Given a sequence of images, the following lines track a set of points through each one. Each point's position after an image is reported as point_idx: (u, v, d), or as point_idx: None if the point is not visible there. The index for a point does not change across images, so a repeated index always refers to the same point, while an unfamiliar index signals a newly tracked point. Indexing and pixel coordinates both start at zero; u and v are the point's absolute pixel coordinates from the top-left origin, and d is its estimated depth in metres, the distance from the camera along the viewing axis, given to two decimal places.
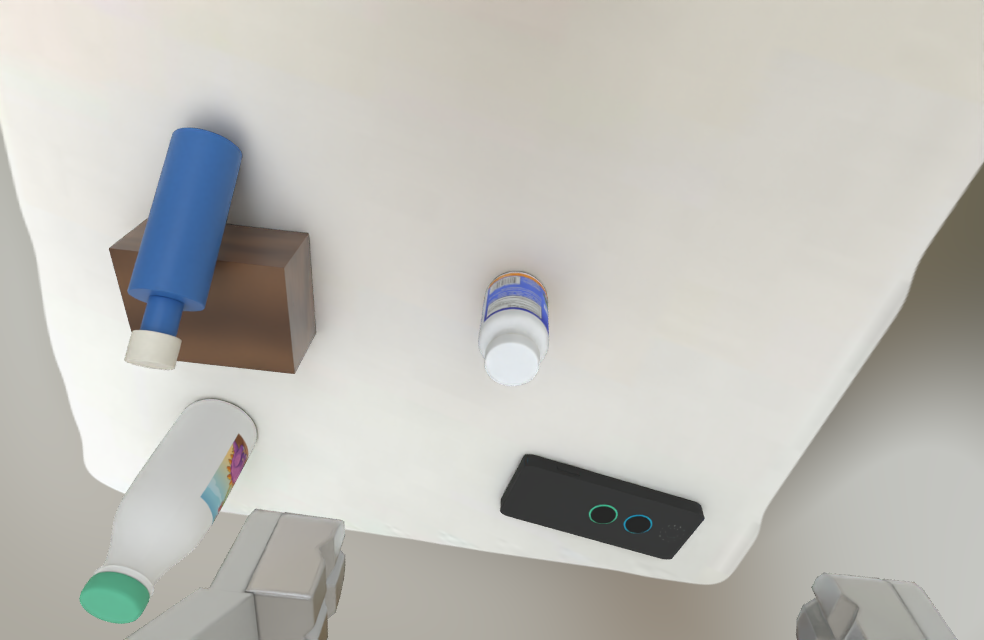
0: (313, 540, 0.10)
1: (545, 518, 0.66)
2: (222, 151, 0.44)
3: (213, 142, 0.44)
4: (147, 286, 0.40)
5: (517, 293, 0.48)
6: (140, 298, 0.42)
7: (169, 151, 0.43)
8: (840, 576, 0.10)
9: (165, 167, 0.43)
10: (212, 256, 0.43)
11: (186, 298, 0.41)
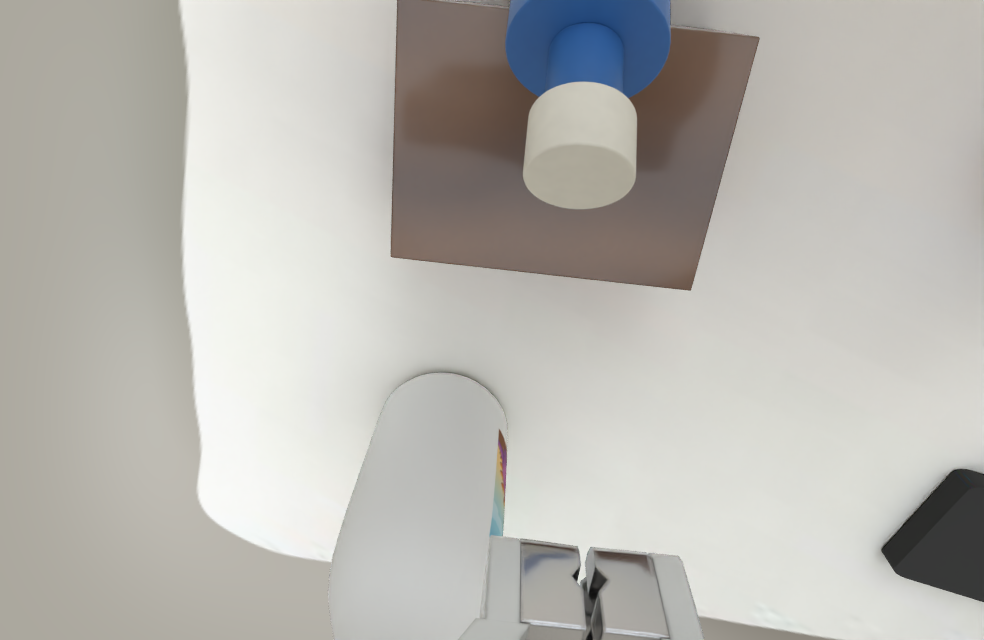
0: (562, 568, 0.10)
1: (967, 581, 0.40)
2: None
3: None
4: None
5: None
6: (521, 49, 0.18)
7: None
8: (603, 550, 0.10)
9: None
10: None
11: (660, 28, 0.17)
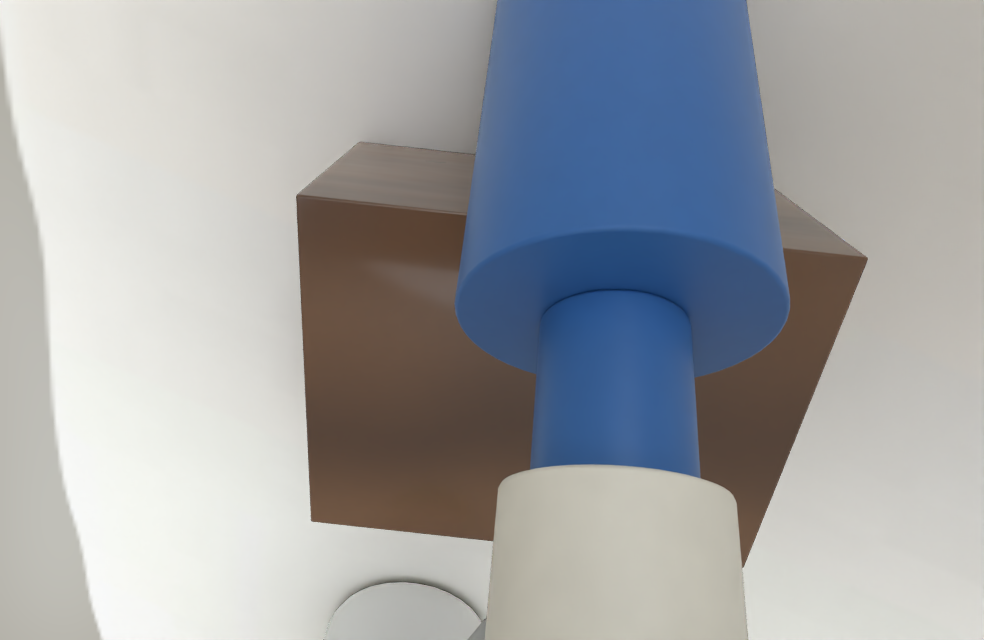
0: None
1: None
2: None
3: None
4: (645, 217, 0.07)
5: None
6: (486, 317, 0.09)
7: None
8: None
9: None
10: None
11: (772, 302, 0.08)
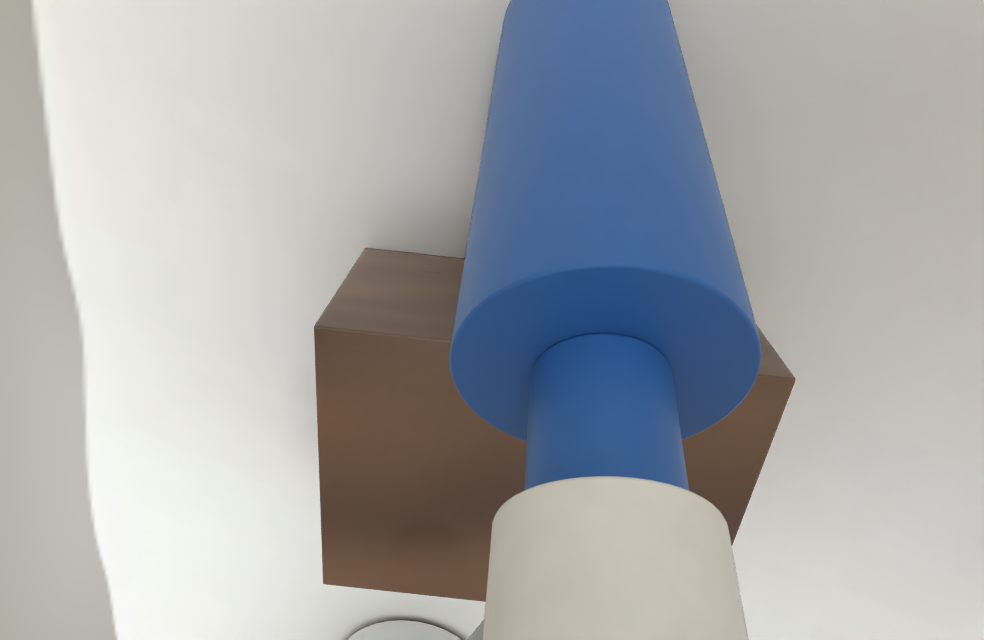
0: None
1: None
2: (669, 10, 0.16)
3: None
4: (624, 256, 0.08)
5: None
6: (479, 370, 0.10)
7: None
8: None
9: (538, 11, 0.14)
10: None
11: (744, 344, 0.09)
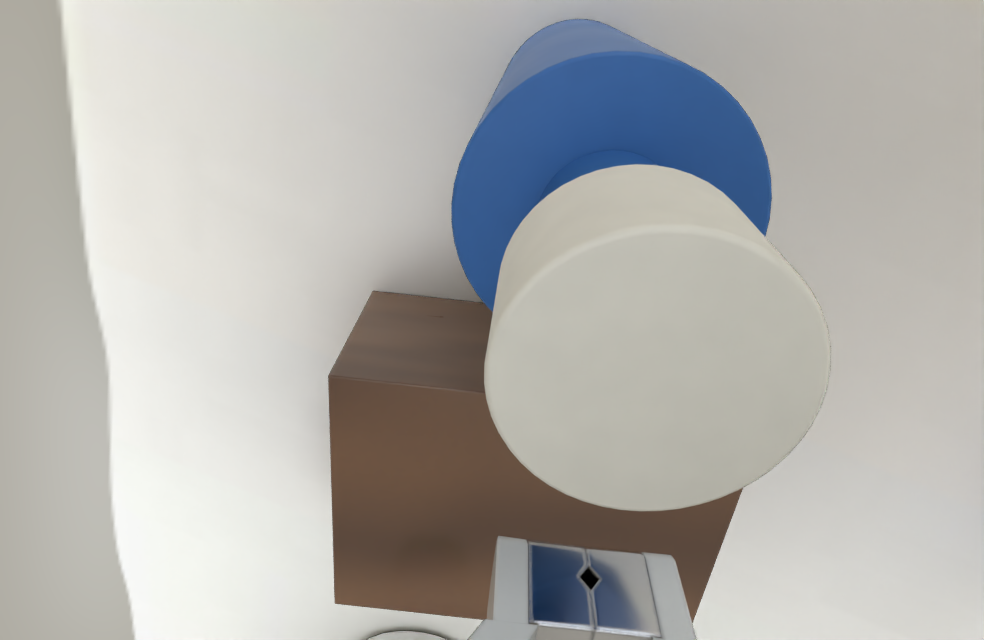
0: (570, 568, 0.10)
1: None
2: None
3: None
4: (625, 49, 0.08)
5: None
6: (482, 219, 0.10)
7: (532, 38, 0.18)
8: (596, 549, 0.10)
9: (534, 39, 0.17)
10: None
11: (752, 160, 0.09)
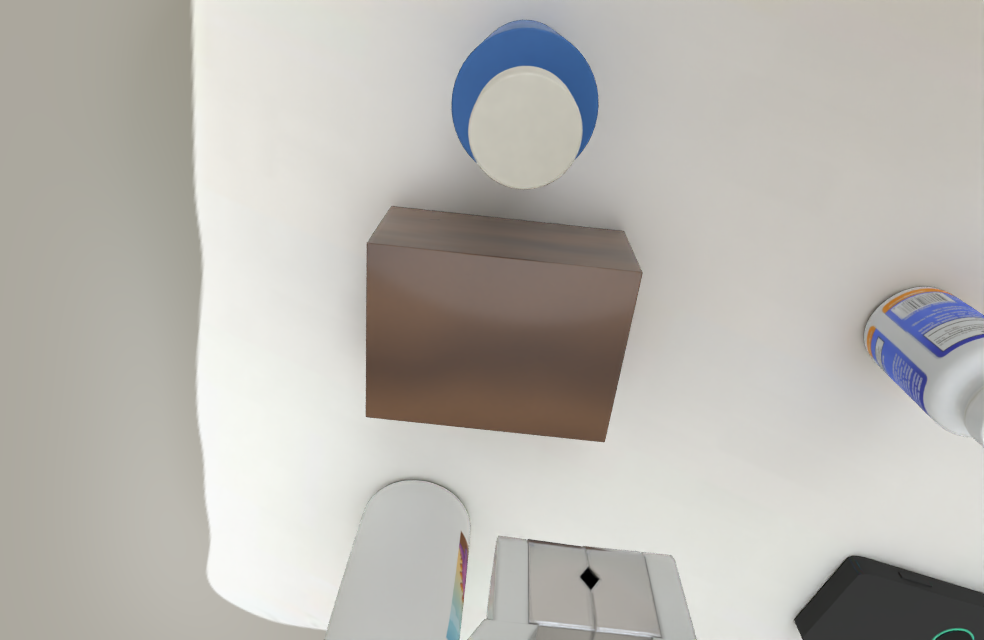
0: (570, 569, 0.10)
1: None
2: None
3: None
4: (527, 27, 0.19)
5: (972, 314, 0.31)
6: (466, 108, 0.20)
7: (494, 31, 0.29)
8: (596, 549, 0.10)
9: None
10: None
11: (586, 77, 0.20)
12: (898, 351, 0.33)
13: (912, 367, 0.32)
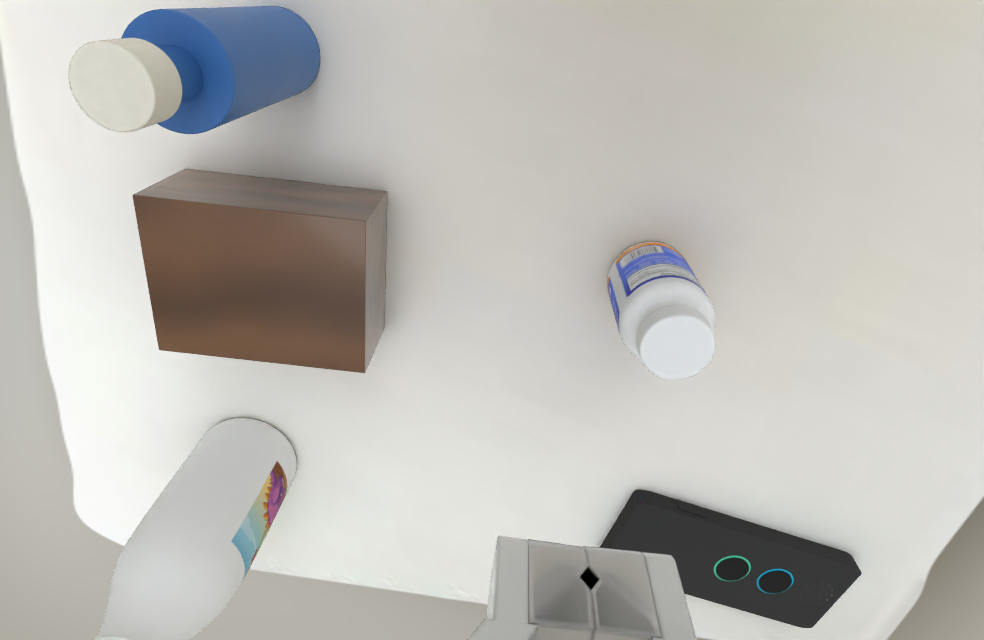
0: (570, 568, 0.10)
1: None
2: (304, 28, 0.35)
3: (296, 17, 0.35)
4: (165, 9, 0.25)
5: (666, 262, 0.37)
6: None
7: None
8: (596, 549, 0.10)
9: None
10: (265, 66, 0.29)
11: (218, 49, 0.25)
12: (614, 295, 0.38)
13: (616, 307, 0.37)
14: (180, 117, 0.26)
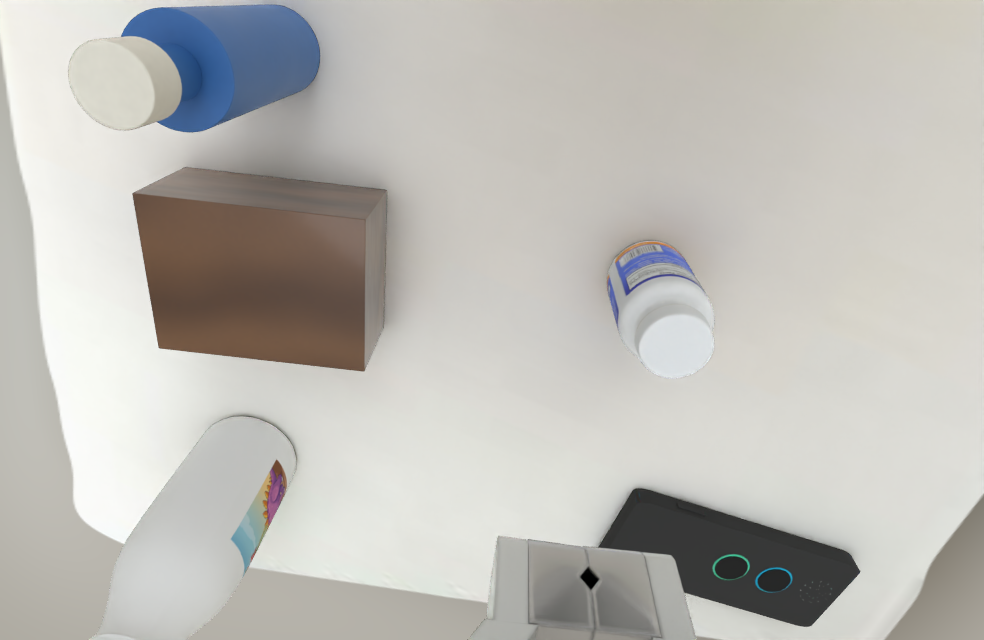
0: (570, 568, 0.10)
1: None
2: (304, 27, 0.35)
3: (296, 15, 0.35)
4: (165, 7, 0.25)
5: (665, 261, 0.37)
6: None
7: None
8: (596, 549, 0.10)
9: None
10: (264, 65, 0.29)
11: (218, 47, 0.25)
12: (613, 294, 0.38)
13: (615, 306, 0.37)
14: (180, 115, 0.26)
